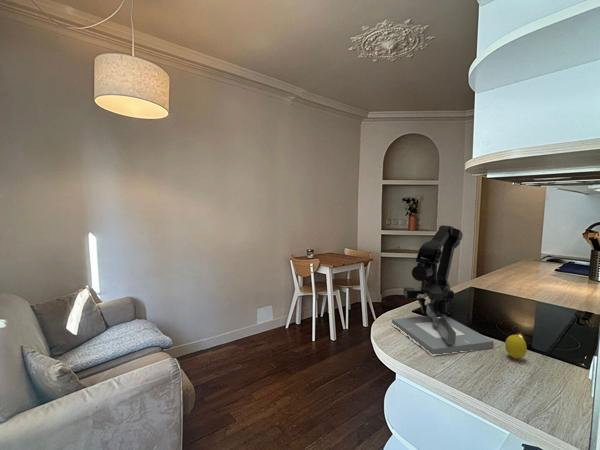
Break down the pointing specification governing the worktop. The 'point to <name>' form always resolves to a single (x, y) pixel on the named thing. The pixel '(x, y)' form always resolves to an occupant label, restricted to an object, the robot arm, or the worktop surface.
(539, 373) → the worktop surface
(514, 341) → the lemon
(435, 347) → the cover plate
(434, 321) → the dark grey bar
